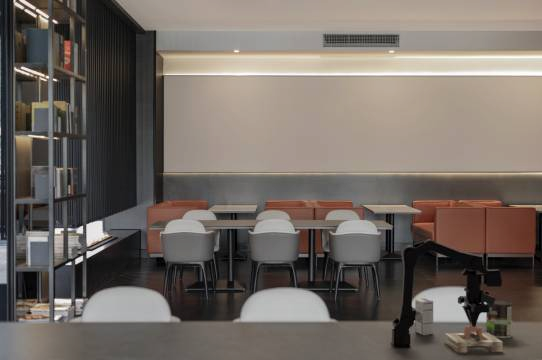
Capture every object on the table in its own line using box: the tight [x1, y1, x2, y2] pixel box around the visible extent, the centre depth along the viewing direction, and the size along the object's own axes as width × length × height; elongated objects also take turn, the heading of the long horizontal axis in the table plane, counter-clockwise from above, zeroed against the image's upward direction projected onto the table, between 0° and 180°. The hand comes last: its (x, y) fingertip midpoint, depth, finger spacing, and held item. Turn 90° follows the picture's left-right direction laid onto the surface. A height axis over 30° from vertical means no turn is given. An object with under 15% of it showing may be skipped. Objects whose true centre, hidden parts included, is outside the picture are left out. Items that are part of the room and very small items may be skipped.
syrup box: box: [414, 298, 434, 336], centre depth 279 cm, size 6×6×14 cm
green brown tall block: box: [485, 299, 513, 339], centre depth 277 cm, size 10×10×14 cm
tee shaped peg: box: [463, 324, 483, 340], centre depth 258 cm, size 6×3×7 cm, turn 94°
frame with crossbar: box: [444, 331, 504, 354], centre depth 258 cm, size 18×14×6 cm
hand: (472, 325), depth 258 cm, fingers closed on tee shaped peg, 2 cm apart
